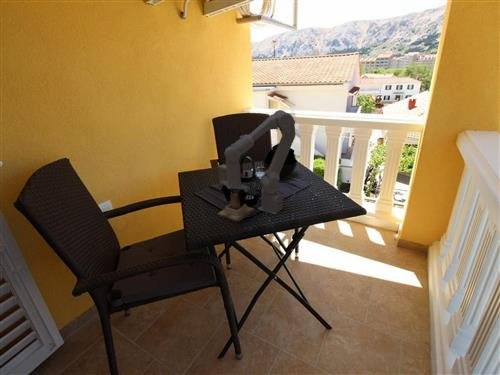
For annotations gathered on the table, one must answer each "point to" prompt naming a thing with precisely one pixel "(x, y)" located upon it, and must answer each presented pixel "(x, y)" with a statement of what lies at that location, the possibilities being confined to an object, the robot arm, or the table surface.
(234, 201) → the peg
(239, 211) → the socket holder
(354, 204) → the table surface
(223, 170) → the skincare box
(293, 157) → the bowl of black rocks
